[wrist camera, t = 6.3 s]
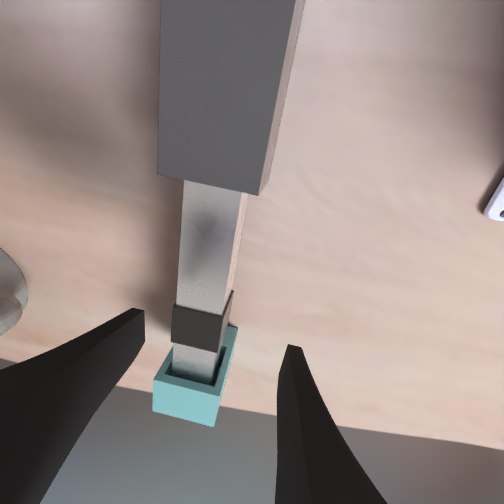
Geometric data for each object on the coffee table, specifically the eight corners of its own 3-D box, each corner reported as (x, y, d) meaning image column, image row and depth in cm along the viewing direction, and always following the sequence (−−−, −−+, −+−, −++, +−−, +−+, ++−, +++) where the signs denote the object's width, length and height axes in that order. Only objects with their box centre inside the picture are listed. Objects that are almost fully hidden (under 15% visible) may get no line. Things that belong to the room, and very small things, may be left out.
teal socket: (238, 328, 23) (219, 396, 16) (232, 354, 24) (213, 426, 18) (190, 316, 23) (153, 379, 17) (187, 343, 24) (152, 411, 18)
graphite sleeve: (306, -4, 13) (325, -152, 7) (268, 179, 17) (258, 195, 11) (222, -18, 13) (164, -174, 7) (204, 166, 17) (157, 174, 11)
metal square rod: (268, 98, 13) (263, 81, 10) (220, 365, 21) (209, 400, 18) (209, 87, 13) (186, 67, 10) (184, 356, 21) (167, 390, 18)
